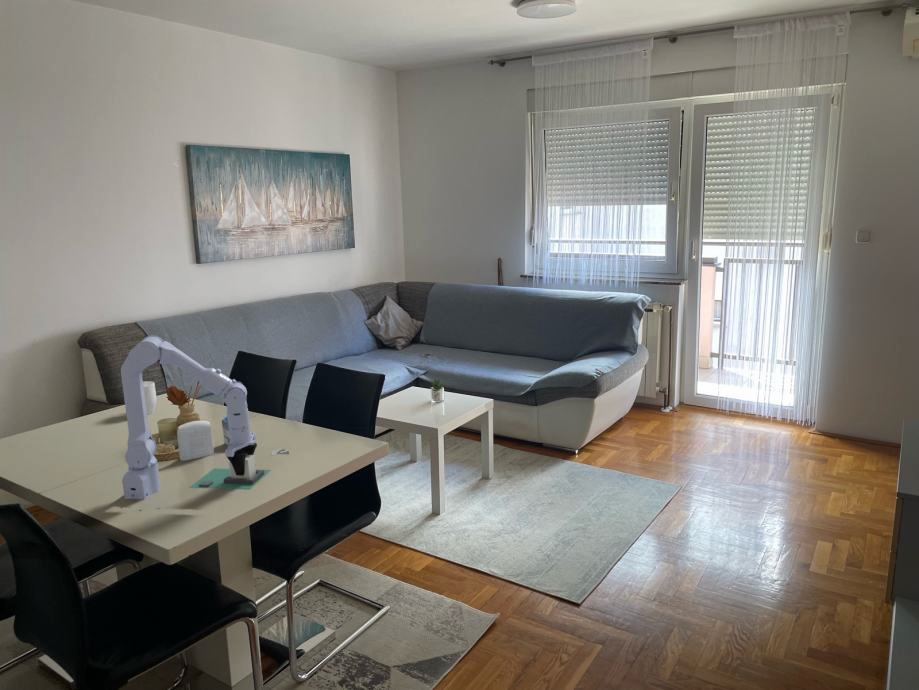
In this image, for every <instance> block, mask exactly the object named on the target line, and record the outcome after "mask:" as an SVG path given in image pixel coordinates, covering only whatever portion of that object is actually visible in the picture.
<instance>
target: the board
mask: <svg viewBox="0 0 919 690" xmlns="http://www.w3.org/2000/svg"><path fill="white" fill-rule="evenodd" d="M271 471H272V470H271V469H256V475H255V476H254V477H252V478H251V479H240V478H231V477H230V468H213V469H212V470H210V471H209V472H207V473H206V474H205V475H203V476H202V477H201V478H200V479H198V480H197V481H196V482H194V483H192V485H190V486H189V488H190V489H191V488H194V489H221V490H223V489H224V490H226V489H229V490H251V489H253V488H254V487H255V486H256V485H257V484H258V483H259V482H260V481H261V480H262V479H263V478H264V477H266V475H268V473H270V472H271Z"/></svg>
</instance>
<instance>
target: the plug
mask: <svg viewBox="0 0 919 690" xmlns="http://www.w3.org/2000/svg"><path fill="white" fill-rule="evenodd" d="M228 466H229V467H228V468H229V469H230V477H231V478H240V479H251V478H252V477H254V476H255V475H256V470H257V468H256V459H255V454H254V455H246V458H245V472H244V475H243V476H238V475H236V473H235V471H234V468H233V466H232V464H231V462H230V461H229V462H228Z"/></svg>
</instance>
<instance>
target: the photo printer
mask: <svg viewBox="0 0 919 690" xmlns="http://www.w3.org/2000/svg"><path fill="white" fill-rule="evenodd" d="M176 432H177V433H176V435H177V445H178V454H179V460H180V461H182V462H183V461H184V462H185V461H191V460H194V459H198V458H204V457H208V456H212V455H214V454H215V451H214V443H213V442H214V440H213V429H212V426H211V423H210V422H209V421H207V420H193V421H189V422H186V423H183V424H181V425H179V426H178V427H177V431H176Z"/></svg>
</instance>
